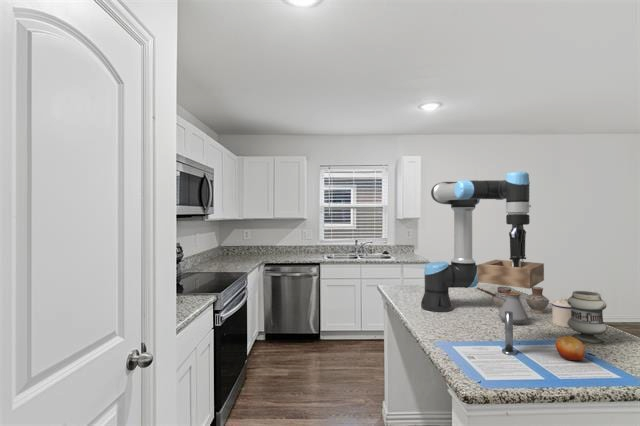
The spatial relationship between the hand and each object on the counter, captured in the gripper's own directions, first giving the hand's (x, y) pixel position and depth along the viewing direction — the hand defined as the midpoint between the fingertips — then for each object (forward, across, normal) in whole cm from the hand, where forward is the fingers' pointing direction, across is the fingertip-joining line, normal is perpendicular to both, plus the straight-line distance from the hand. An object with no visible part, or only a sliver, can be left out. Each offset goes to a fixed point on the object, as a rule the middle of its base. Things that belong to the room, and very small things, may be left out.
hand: (518, 277), depth 129 cm
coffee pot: (+25, +24, +13) cm, 37 cm away
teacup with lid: (+25, +39, -8) cm, 47 cm away
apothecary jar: (+25, +21, -18) cm, 37 cm away
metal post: (+24, -12, 0) cm, 27 cm away
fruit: (+25, -4, -16) cm, 30 cm away
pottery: (+25, +52, +12) cm, 58 cm away
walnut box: (0, -8, 0) cm, 9 cm away
